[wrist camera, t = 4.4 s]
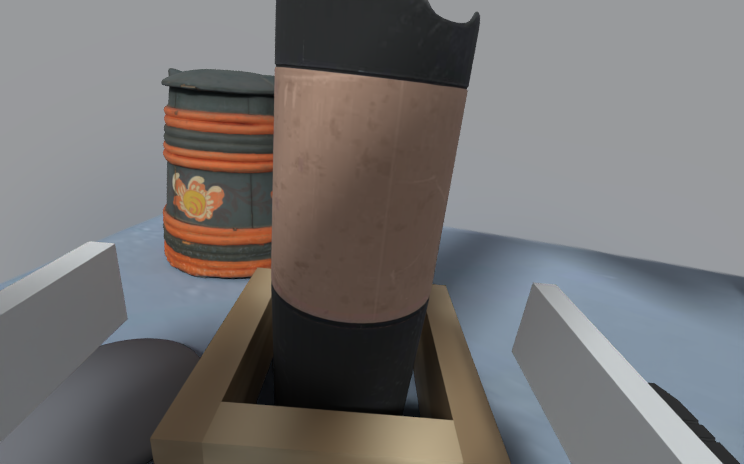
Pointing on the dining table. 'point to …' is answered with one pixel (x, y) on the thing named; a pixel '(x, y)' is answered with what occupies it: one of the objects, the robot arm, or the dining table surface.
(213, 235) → the beer stein
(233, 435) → the frame
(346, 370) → the travel mug
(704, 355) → the dining table surface
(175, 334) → the dining table surface
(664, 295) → the dining table surface
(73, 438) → the coaster
